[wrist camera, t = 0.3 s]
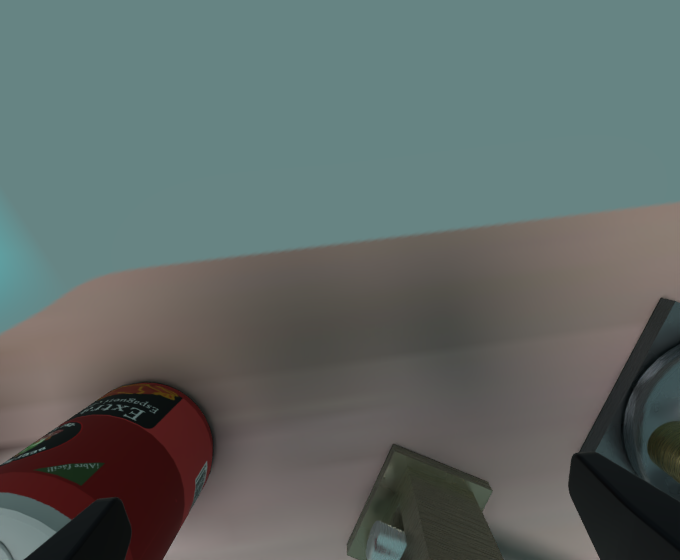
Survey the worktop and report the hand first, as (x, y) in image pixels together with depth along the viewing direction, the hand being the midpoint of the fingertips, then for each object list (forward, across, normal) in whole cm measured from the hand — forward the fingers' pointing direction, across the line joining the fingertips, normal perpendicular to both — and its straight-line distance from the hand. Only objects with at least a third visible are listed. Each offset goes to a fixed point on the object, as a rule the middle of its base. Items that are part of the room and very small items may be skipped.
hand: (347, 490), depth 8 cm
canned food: (+14, +12, +10) cm, 21 cm away
